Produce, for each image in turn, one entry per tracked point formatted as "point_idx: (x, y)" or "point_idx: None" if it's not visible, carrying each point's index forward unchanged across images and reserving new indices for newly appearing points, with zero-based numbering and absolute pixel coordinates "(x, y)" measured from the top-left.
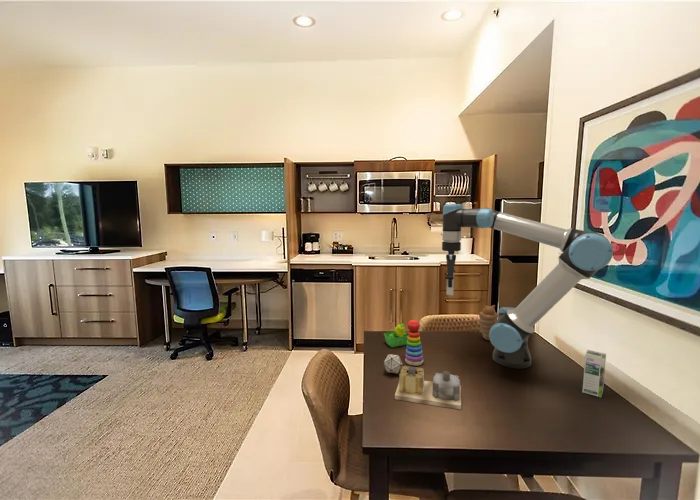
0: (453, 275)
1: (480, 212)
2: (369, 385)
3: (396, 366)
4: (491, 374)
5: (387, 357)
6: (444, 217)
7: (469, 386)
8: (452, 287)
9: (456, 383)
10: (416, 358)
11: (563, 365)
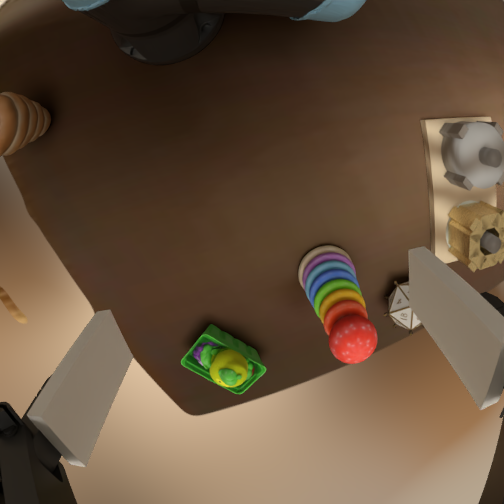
0: (58, 398)
1: None
2: None
3: None
4: (298, 48)
5: (418, 325)
6: None
7: (396, 100)
8: (463, 289)
9: (491, 130)
10: (353, 265)
11: None
